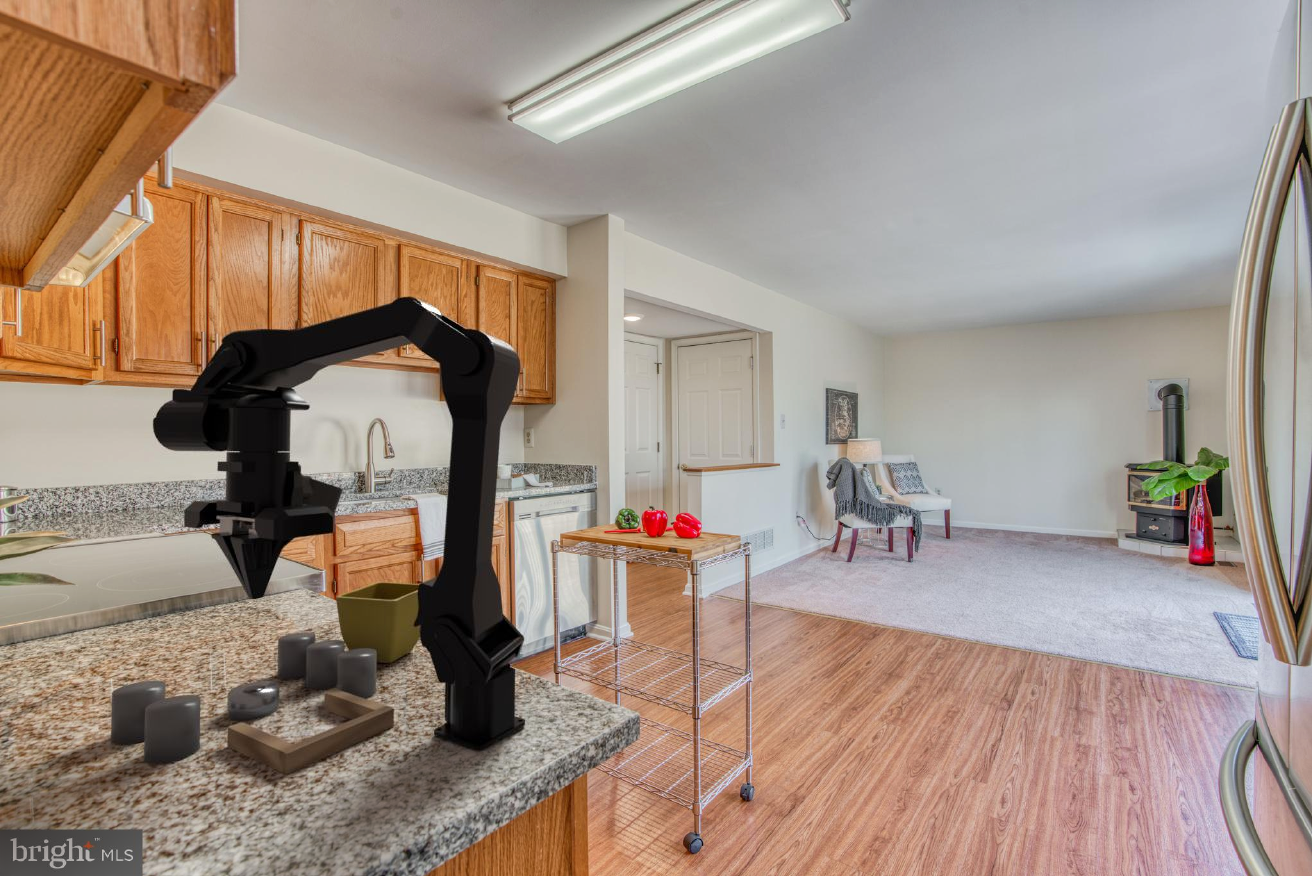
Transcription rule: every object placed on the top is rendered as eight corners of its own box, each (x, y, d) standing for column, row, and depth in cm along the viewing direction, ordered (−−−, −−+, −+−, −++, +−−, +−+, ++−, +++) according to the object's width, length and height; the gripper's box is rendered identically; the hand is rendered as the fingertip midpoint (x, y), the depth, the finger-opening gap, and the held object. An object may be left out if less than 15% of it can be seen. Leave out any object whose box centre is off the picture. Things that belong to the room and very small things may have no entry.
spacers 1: (208, 749, 56) (209, 700, 57) (156, 768, 53) (157, 716, 53) (153, 721, 62) (154, 677, 62) (103, 738, 58) (104, 691, 59)
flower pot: (393, 671, 77) (394, 599, 77) (332, 665, 78) (334, 595, 78) (432, 649, 85) (433, 584, 85) (377, 644, 87) (378, 581, 87)
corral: (393, 726, 61) (393, 708, 61) (286, 774, 52) (287, 753, 52) (334, 705, 66) (335, 688, 66) (227, 746, 57) (227, 726, 57)
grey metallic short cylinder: (288, 709, 65) (288, 685, 66) (241, 726, 61) (242, 701, 62) (264, 700, 68) (264, 677, 68) (218, 716, 64) (218, 691, 64)
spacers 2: (383, 691, 70) (384, 651, 70) (351, 703, 67) (352, 662, 67) (303, 665, 78) (303, 630, 78) (270, 675, 75) (271, 638, 75)
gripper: (381, 452, 68) (379, 593, 67) (286, 451, 77) (284, 575, 76) (278, 453, 58) (275, 617, 58) (183, 451, 67) (180, 593, 67)
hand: (256, 598), depth 65 cm, fingers closed
